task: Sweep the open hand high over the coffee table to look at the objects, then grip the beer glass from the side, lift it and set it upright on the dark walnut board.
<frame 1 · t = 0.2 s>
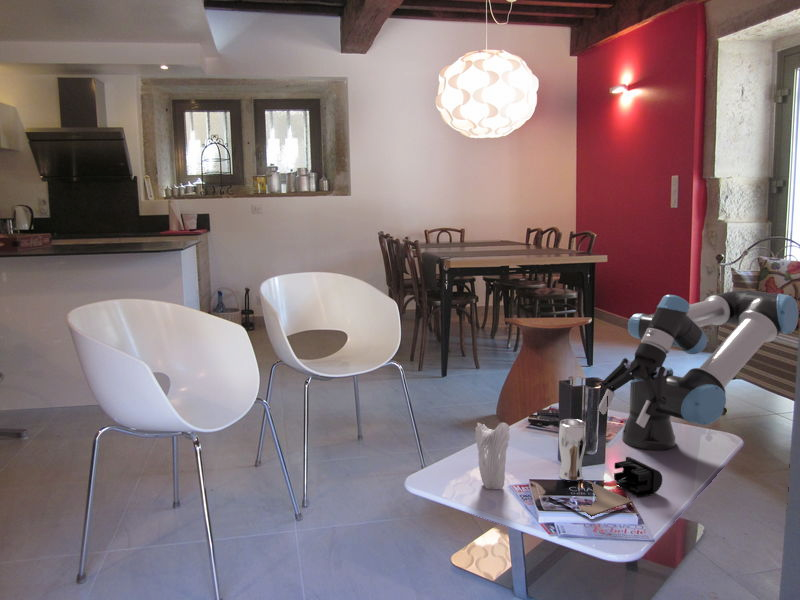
hand: (619, 418, 177), 16 cm above the table, tool tilted 35°, fingers open, 13 cm apart
walnut board: (589, 501, 164), on the table
white ridged vase: (491, 488, 172), on the table
end cap: (636, 489, 171), on the table
beer glass: (570, 477, 178), on the table
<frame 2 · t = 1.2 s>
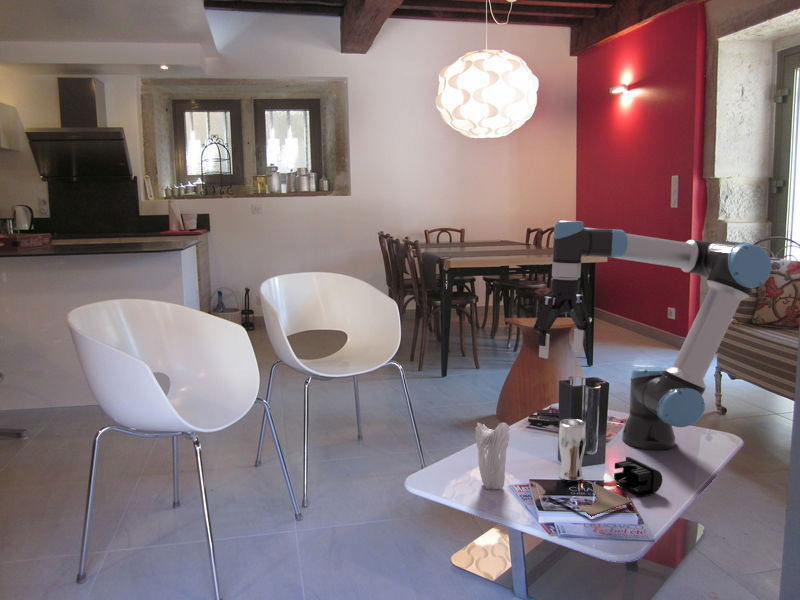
hand: (560, 355, 184), 31 cm above the table, tool pointing down, fingers open, 13 cm apart
nothing on the table moved.
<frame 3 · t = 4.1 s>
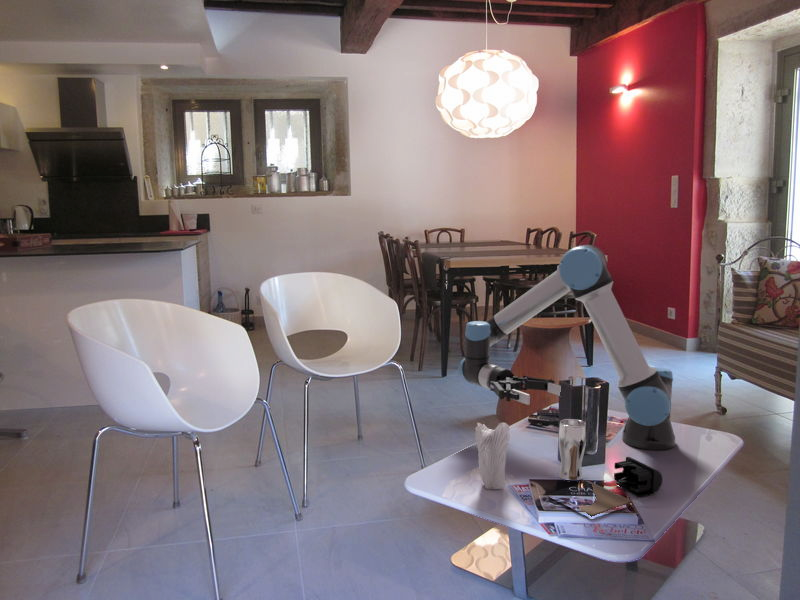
hand: (547, 396, 184), 20 cm above the table, tool horizontal, fingers open, 13 cm apart
nothing on the table moved.
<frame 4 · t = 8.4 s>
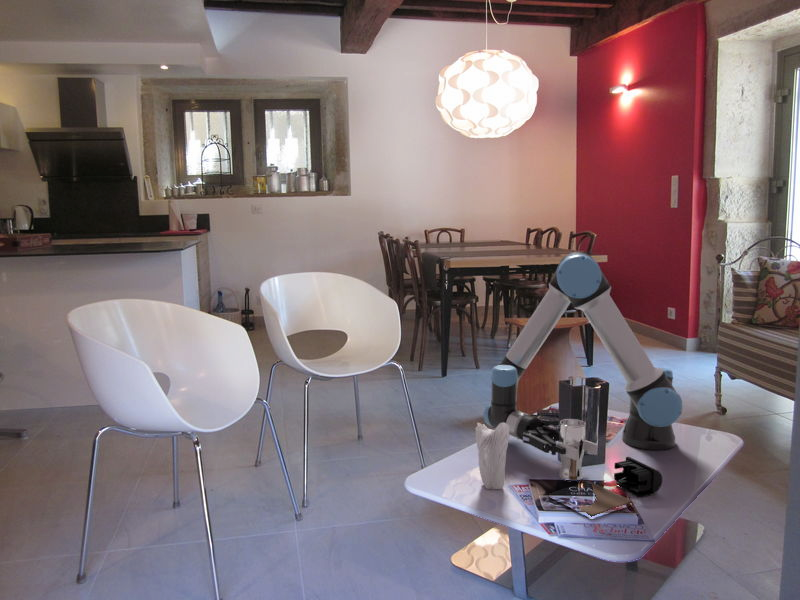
hand: (586, 452, 173), 9 cm above the table, tool horizontal, fingers closed on beer glass, 6 cm apart
beer glass: (570, 477, 178), on the table, touching gripper
everything else where it was.
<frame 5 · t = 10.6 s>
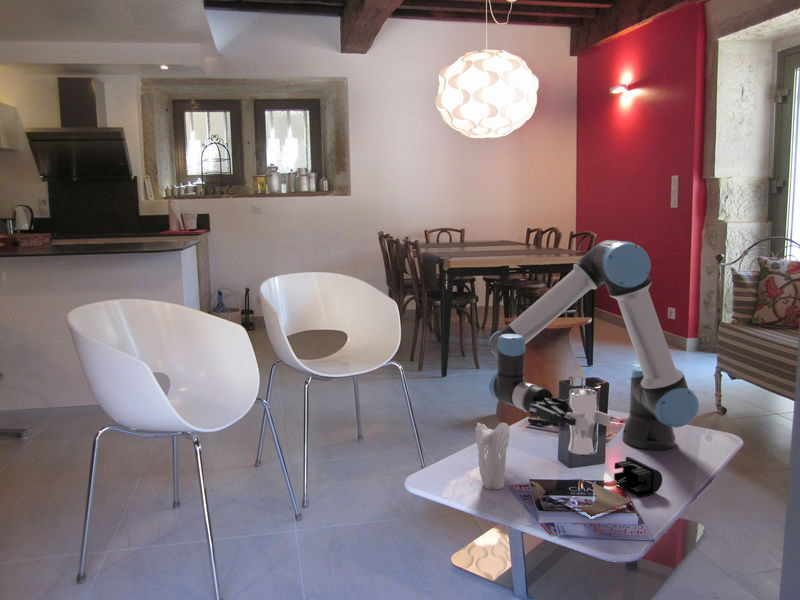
hand: (597, 423, 160), 20 cm above the table, tool horizontal, fingers closed on beer glass, 6 cm apart
beer glass: (580, 451, 166), point 11 cm above the table, touching gripper
everything else where it was.
when the fingers open (11 cm above the table, at t = 12.9 s): beer glass drops 1 cm, resting on walnut board.
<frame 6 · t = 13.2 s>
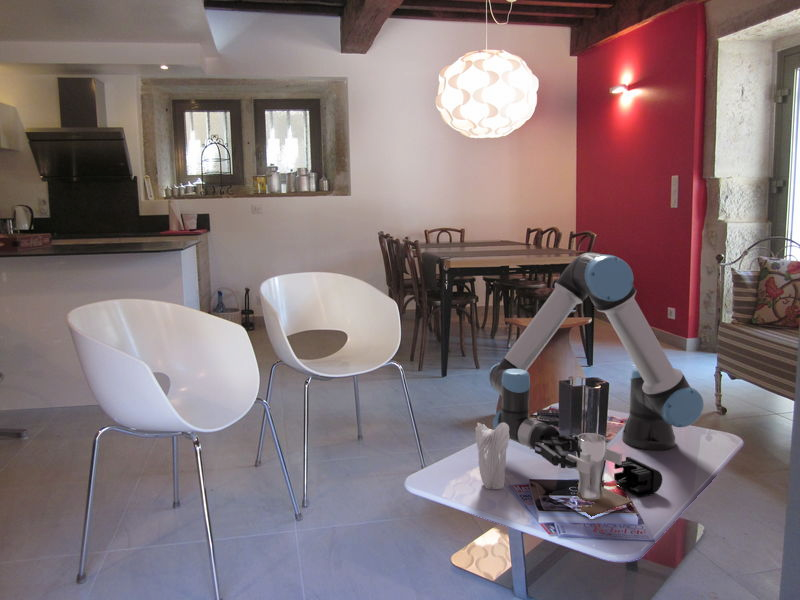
hand: (605, 463, 159), 11 cm above the table, tool horizontal, fingers open, 10 cm apart
beer glass: (589, 497, 164), point 1 cm above the table, touching walnut board
everything else where it was.
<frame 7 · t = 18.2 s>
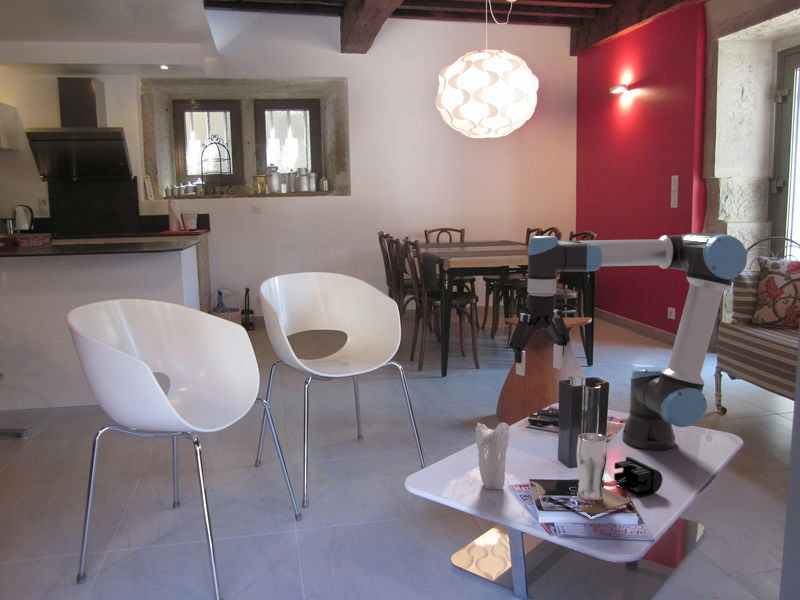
hand: (539, 371, 183), 27 cm above the table, tool pointing down, fingers open, 13 cm apart
nothing on the table moved.
at the end: beer glass inside the target area on the walnut board (0.0 cm from its centre), point 1.0 cm above the walnut board's base; beer glass tilted 0°; the gripper is holding nothing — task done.
